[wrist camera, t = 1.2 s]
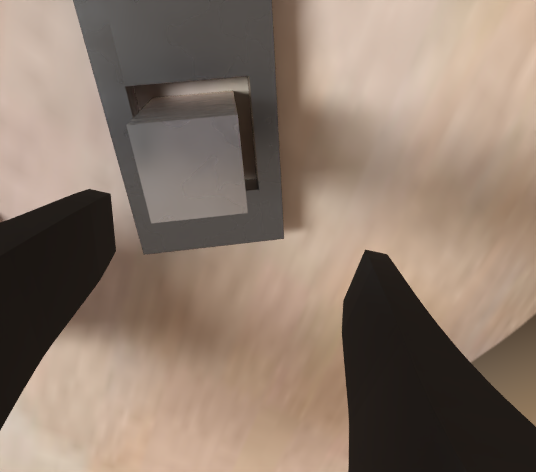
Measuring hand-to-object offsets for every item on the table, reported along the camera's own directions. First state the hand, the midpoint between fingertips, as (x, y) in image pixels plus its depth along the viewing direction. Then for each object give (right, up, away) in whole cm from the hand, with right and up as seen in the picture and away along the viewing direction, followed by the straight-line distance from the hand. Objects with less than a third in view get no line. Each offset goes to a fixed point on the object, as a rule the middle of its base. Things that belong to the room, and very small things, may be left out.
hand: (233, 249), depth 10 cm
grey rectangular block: (-3, +6, +9) cm, 11 cm away
